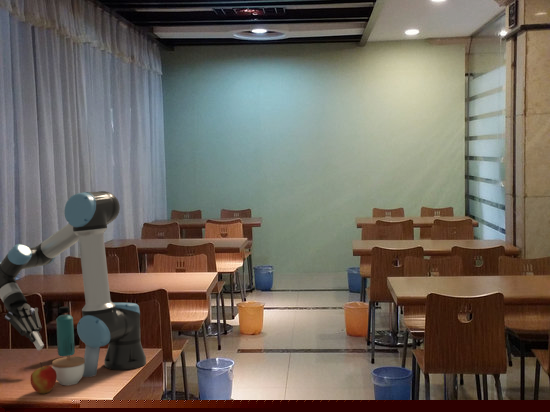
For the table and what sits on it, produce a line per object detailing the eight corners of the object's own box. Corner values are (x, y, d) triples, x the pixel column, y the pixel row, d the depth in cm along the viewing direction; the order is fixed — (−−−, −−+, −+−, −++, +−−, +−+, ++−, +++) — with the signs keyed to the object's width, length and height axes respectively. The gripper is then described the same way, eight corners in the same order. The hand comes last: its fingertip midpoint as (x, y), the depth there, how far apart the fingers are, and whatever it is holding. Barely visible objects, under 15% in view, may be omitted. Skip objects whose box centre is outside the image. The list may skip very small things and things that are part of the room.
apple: (49, 396, 233) (48, 366, 233) (26, 395, 235) (25, 365, 234) (61, 389, 241) (60, 359, 240) (39, 388, 243) (38, 358, 242)
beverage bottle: (72, 360, 278) (70, 308, 277) (55, 360, 278) (53, 308, 277) (77, 355, 285) (75, 305, 284) (60, 356, 285) (58, 305, 284)
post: (98, 375, 259) (103, 342, 258) (91, 378, 254) (96, 345, 254) (86, 372, 261) (90, 339, 260) (79, 375, 256) (83, 342, 255)
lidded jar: (68, 389, 241) (67, 361, 240) (46, 384, 246) (45, 357, 246) (92, 380, 250) (91, 353, 250) (69, 376, 256) (68, 350, 255)
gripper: (25, 301, 276) (52, 350, 266) (-7, 307, 266) (20, 358, 256) (32, 288, 273) (60, 337, 263) (-1, 294, 263) (28, 345, 253)
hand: (40, 347), depth 260 cm, fingers closed
